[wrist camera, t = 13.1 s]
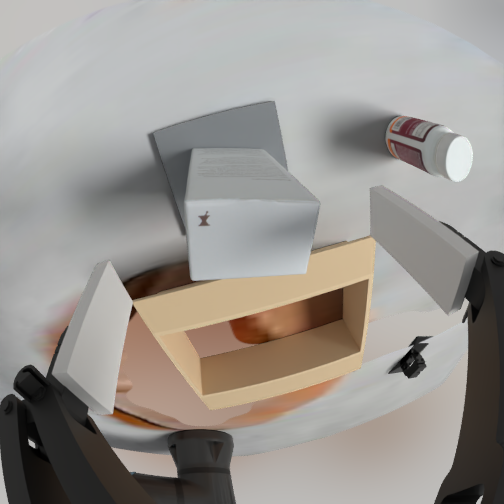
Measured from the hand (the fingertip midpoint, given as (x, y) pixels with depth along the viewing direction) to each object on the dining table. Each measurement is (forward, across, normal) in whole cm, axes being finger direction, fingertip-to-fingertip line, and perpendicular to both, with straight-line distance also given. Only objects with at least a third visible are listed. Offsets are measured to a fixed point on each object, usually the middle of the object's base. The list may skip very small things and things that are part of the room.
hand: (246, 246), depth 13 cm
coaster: (+12, 0, +1) cm, 12 cm away
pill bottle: (+12, +18, +1) cm, 22 cm away
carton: (+12, 0, -16) cm, 21 cm away
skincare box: (+12, 0, 0) cm, 12 cm away
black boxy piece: (+14, +27, -44) cm, 53 cm away
